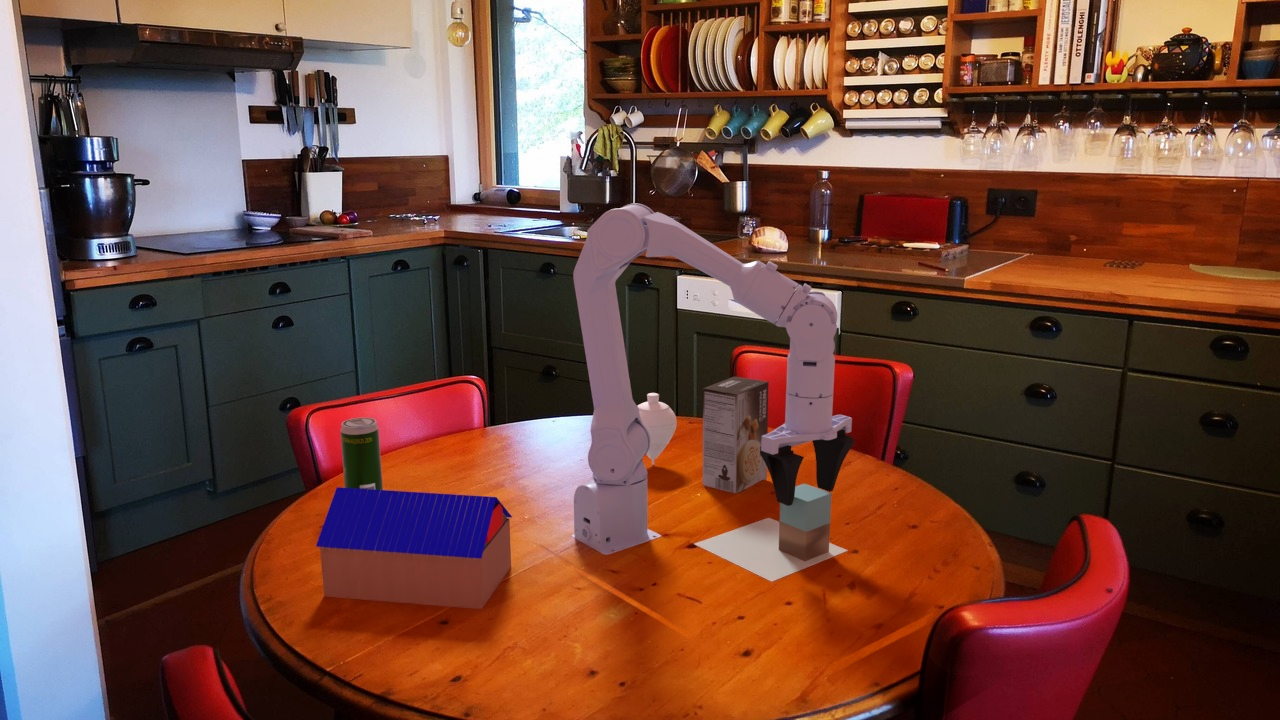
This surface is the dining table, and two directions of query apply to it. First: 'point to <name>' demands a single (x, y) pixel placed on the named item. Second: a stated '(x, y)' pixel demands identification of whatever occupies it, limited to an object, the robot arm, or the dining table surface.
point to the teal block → (807, 508)
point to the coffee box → (734, 433)
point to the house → (414, 547)
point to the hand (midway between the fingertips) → (805, 496)
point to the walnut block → (804, 541)
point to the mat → (761, 550)
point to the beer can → (361, 454)
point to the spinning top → (657, 424)
